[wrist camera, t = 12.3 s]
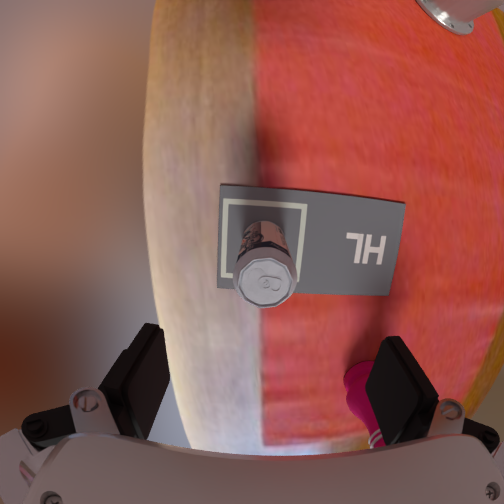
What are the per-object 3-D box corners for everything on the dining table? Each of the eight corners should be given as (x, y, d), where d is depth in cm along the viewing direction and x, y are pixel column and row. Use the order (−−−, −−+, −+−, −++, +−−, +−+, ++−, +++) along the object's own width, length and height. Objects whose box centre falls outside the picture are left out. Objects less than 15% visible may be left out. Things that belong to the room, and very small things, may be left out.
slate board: (220, 185, 29) (220, 185, 29) (404, 203, 29) (405, 204, 29) (217, 287, 33) (217, 287, 33) (387, 295, 33) (388, 295, 32)
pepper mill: (330, 383, 37) (360, 495, 18) (362, 351, 35) (413, 462, 16) (361, 396, 38) (396, 494, 19) (391, 366, 36) (443, 463, 17)
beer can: (246, 215, 30) (237, 245, 18) (289, 224, 30) (306, 258, 19) (238, 256, 31) (226, 307, 20) (279, 264, 32) (289, 318, 20)
